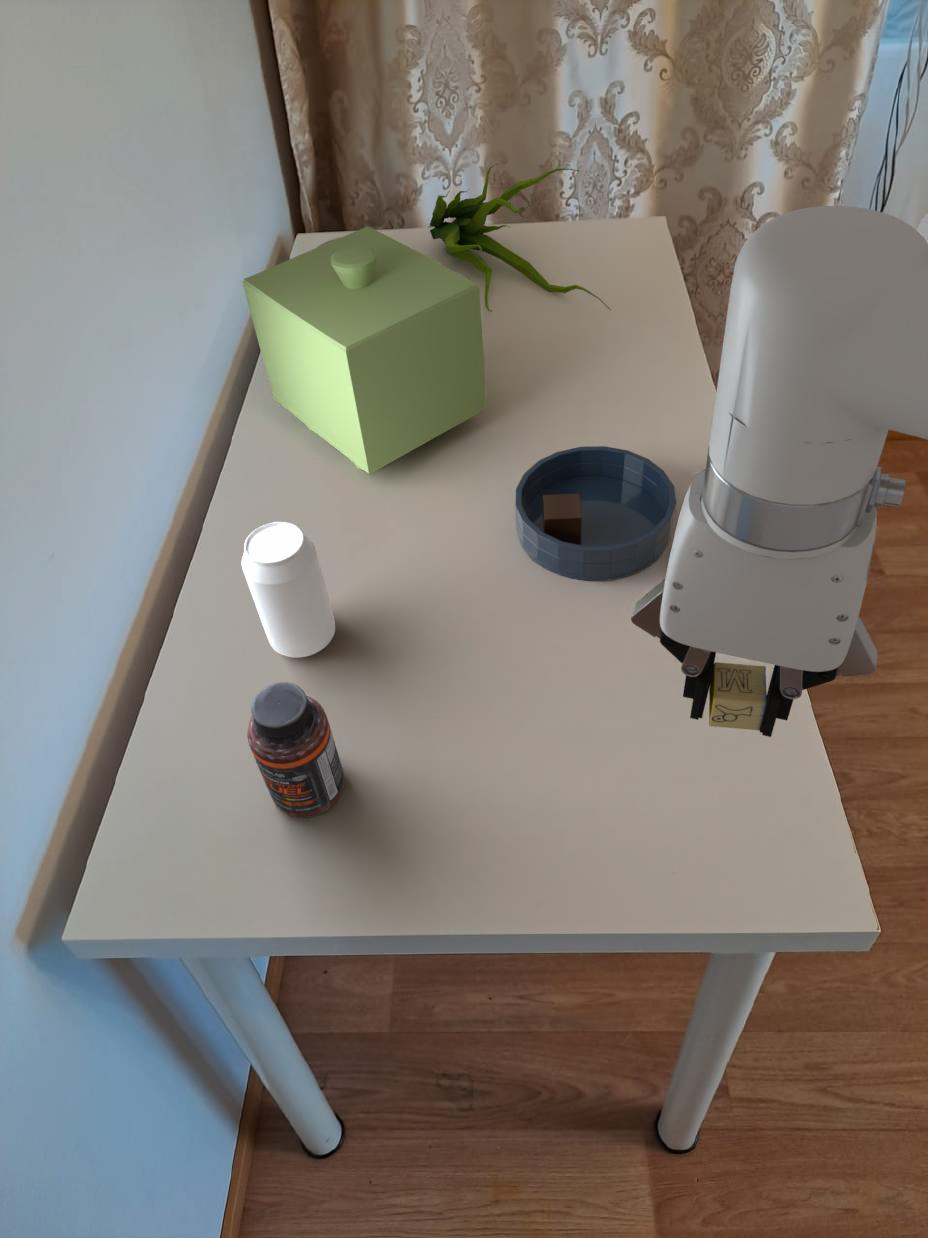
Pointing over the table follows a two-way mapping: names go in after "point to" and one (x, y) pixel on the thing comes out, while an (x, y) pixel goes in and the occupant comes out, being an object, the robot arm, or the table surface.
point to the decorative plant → (471, 226)
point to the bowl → (598, 512)
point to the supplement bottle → (295, 750)
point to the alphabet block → (737, 696)
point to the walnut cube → (563, 517)
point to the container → (370, 345)
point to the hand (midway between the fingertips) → (734, 708)
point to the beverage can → (288, 589)
